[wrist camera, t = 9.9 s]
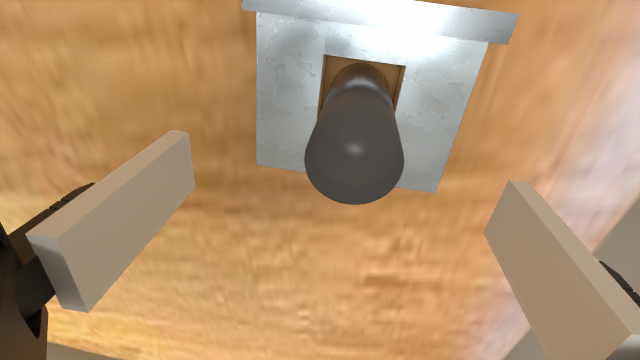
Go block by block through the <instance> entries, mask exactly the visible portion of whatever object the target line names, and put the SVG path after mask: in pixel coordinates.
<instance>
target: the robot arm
mask: <svg viewBox="0 0 640 360" xmlns="http://www.w3.org/2000/svg"><path fill="white" fill-rule="evenodd" d="M194 189H195V180H194V172H193V163H192V155H191V146H190V138H189V132H184V131H177V130H170V131H168V132H167V133H166V134H164V135H163V136H161V137H160V138H159V139H157V140H156V141H154V142H153V143H152V144H150V145H149V146H147V147H146V148H145V149H143V150H142V151H140V152H139V153H138V154H136V155H135V156H133V157H132V158H131V159H129V160H128V161H126V162H125V163H124V164H122V165H121V166H119V167H118V168H116V169H115V170H114V171H112V172H111V173H109V174H108V175H107V176H105V177H104V178H102V179H101V180H100V181H98V182H97V183H90V184H87V185H85V186H83V187H80V188H78V189H75V190H73V191H72V192H71V193H69V194H68V195H66V196H65V197H63V198H62V199H61V201H57V202H56V203H54V204H53V205H52V206H50V207H49V209H46V210H44V211H43V212H41V213H40V214H38V215H37V216H35V217H34V218H33V219H31V220H30V221H28V222H27V223H25V224H24V225H22V226H21V227H19V228H18V229H16V230H15V231H14V232H12V233H11V234H9V235H7V234H6V232H5V230H4V228H3V226H2V224H1V222H0V360H46V350H47V329H48V311H47V308H46V306H45V304H46V303H47V302H48V301H49V300H50V299H51V298H52V297H53V296H54V295H56V297H57V299H58V301H59V303H60V305H61V307H62V308H64V309H69V310H75V311H81V312H87V313H89V311H90V310H91V309H92V308H93V307H94V306H95V304H96V303H97V302H98V301H99V300H100V299H101V297H102V296H103V295H104V294H105V293H106V292H107V290H108V289H109V288H110V287H111V286H112V285H113V283H114V282H115V281H116V280H117V279H118V278H119V276H120V275H121V274H122V273H123V272H124V271H125V269H126V268H127V267H128V266H129V265H130V264H131V262H132V261H133V260H134V259H135V258H136V257H137V255H138V254H139V253H140V252H141V251H142V250H143V248H144V247H145V246H146V245H147V244H148V243H149V241H150V240H151V239H152V238H153V237H154V236H155V234H156V233H157V232H158V231H159V230H160V229H161V227H162V226H163V225H164V224H165V223H166V222H167V220H168V219H169V218H170V217H171V216H172V215H173V213H174V212H175V211H176V210H177V209H178V208H179V206H180V205H181V204H182V203H183V202H184V201H185V199H186V198H187V197H188V196H189V195H190V193H191V192H192V191H193V190H194ZM483 233H484V235H485V237H486V239H487V241H488V243H489V245H490V247H491V249H492V251H493V253H494V255H495V257H496V259H497V260H498V262H499V264H500V266H501V268H502V270H503V272H504V274H505V276H506V278H507V280H508V282H509V284H510V286H511V288H512V290H513V292H514V294H515V296H516V298H517V300H518V302H519V304H520V306H521V308H522V310H523V312H524V314H525V316H526V318H527V320H528V322H529V324H530V325H531V327H532V329H533V331H534V333H535V335H536V337H537V339H538V341H539V343H540V345H541V347H542V349H543V351H544V353H545V355H546V357H547V359H548V360H640V296H639V295H638V294H637V293H636V292H633V289H632V288H631V287H630V286H629V284H628V283H627V282H626V281H625V280H624V279H623V278H622V277H621V276H620V275H619V274H618V273H617V272H615V271H614V270H613V269H611V268H610V267H609V266H607V265H606V264H604V263H603V262H602V261H598V260H597V259H596V258H595V257H594V256H593V254H592V253H591V252H590V251H589V250H588V249H587V248H586V247H585V245H584V244H583V243H582V242H581V241H580V240H579V239H578V237H577V236H576V235H575V234H574V233H573V232H572V231H571V230H570V228H569V227H568V226H567V225H566V224H565V223H564V222H563V220H562V219H561V218H560V217H559V216H558V215H557V214H556V213H555V211H554V210H553V209H552V208H551V207H550V206H549V205H548V204H547V202H546V201H545V200H544V199H543V198H542V197H541V196H540V194H539V193H538V192H537V191H536V190H535V189H534V188H533V187H532V185H531V184H530V183H529V182H523V181H516V180H509V181H508V183H507V185H506V187H505V189H504V191H503V193H502V195H501V197H500V199H499V201H498V203H497V205H496V207H495V210H494V212H493V214H492V216H491V218H490V220H489V222H488V224H487V226H486V228H485V230H484V232H483Z"/></svg>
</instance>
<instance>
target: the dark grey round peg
mask: <svg viewBox="0 0 640 360" xmlns="http://www.w3.org/2000/svg"><path fill="white" fill-rule="evenodd" d="M304 164H305V169H306V173H307V175H308V178H309V179H310V181H311V183H312V184H313V185H314V187H315V188H316V189H317V190H318V191H319V192H321V193H322V194H323V195H324V196H326V197H328V198H330V199H332V200H334V201H337V202H340V203H344V204H351V205H358V204H366V203H370V202H373V201H376V200H378V199H380V198H382V197H383V196H385V195H386V194H388V193H389V192H390V191H391V190H392V189H393V188H394V187H395V186H396V184H397V183H398V181H399V179H400V177H401V175H402V172H403V168H404V153H403V149H402V144H401V140H400V135H399V131H398V127H397V122H396V118H395V113H394V109H393V104H392V100H391V95H390V91H389V87H388V83H387V80H386V78H385V76H384V74H383V73H382V72H381V71H380V70H379V69H378V68H376V67H375V66H373V65H370V64H366V63H355V64H351V65H349V66H347V67H345V68H343V69H342V70H341V71H340V72H339V73H338V74H337V75H336V77H335V79H334V81H333V83H332V85H331V88H330V90H329V93H328V95H327V98H326V100H325V102H324V105H323V107H322V110H321V112H320V115H319V117H318V119H317V122H316V124H315V127H314V129H313V132H312V134H311V136H310V139H309V141H308V144H307V147H306V150H305V155H304Z"/></svg>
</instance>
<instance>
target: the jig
mask: <svg viewBox="0 0 640 360" xmlns="http://www.w3.org/2000/svg"><path fill="white" fill-rule="evenodd" d="M242 10H246V11H254V12H257V26H256V165H262V166H268V167H274V168H280V169H287V170H293V171H299V172H305V173H306V169H305V164H304V155H305V150H306V147H307V144H308V141H309V139H310V136H311V134H312V132H313V129H314V127H315V124H316V122H317V119H318V117H319V115H320V111H321V102H322V93H323V84H324V75H325V66H326V58H327V55H331V56H338V57H345V58H353V59H360V60H367V61H374V62H382V63H389V64H396V65H402V67H401V71H400V75H399V80H398V84H397V88H396V93H395V97H394V101H393V109H394V113H395V118H396V122H397V127H398V131H399V135H400V140H401V144H402V149H403V153H404V168H403V172H402V175H401V177H400V179H399V181H398V183H397V184H396V186H395V187H399V188H405V189H411V190H418V191H424V192H430V193H436V191H437V188H438V185H439V182H440V179H441V177H442V174H443V171H444V168H445V165H446V163H447V160H448V157H449V154H450V151H451V149H452V146H453V143H454V140H455V137H456V135H457V132H458V129H459V126H460V123H461V120H462V118H463V115H464V112H465V109H466V106H467V104H468V101H469V98H470V95H471V92H472V90H473V87H474V84H475V81H476V78H477V75H478V73H479V70H480V67H481V64H482V61H483V59H484V56H485V53H486V50H487V47H488V45H489V42H491V43H498V44H506V45H508V42H509V40H510V37H511V35H512V32H513V29H514V27H515V24H516V22H517V19H518V16H519V14H516V13H508V12H500V11H492V10H484V9H476V8H468V7H460V6H452V5H444V4H436V3H428V2H420V1H412V0H242Z"/></svg>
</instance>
